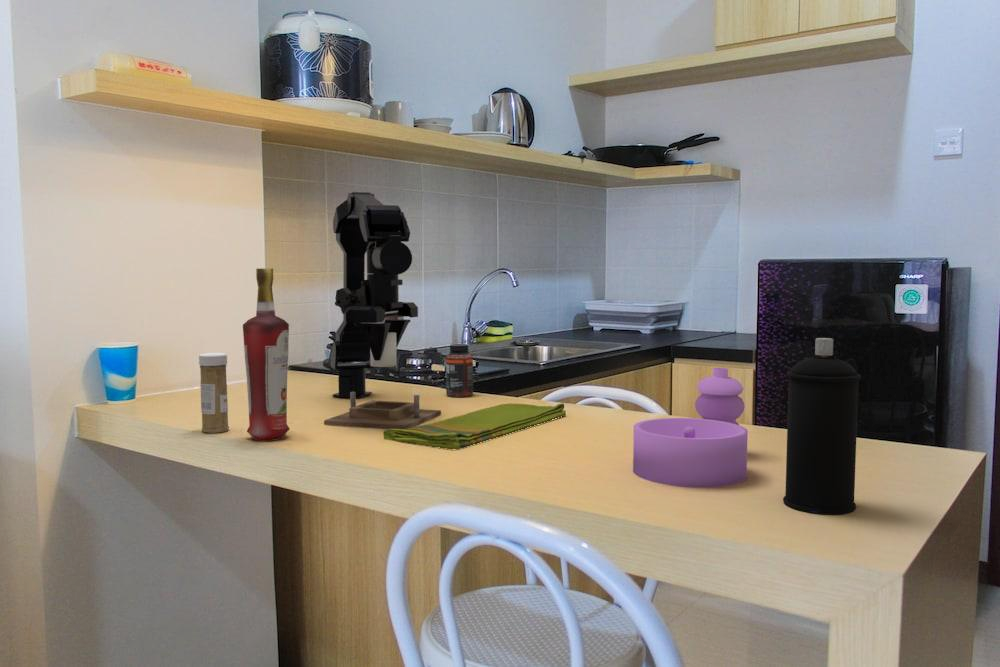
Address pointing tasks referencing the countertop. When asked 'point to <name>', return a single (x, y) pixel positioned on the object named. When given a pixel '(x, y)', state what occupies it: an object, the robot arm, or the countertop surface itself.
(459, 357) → the supplement bottle
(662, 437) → the container set
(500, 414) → the dish towel
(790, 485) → the aerosol can
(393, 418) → the holder
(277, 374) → the liquor
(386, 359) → the roll
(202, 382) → the spice jar
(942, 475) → the countertop surface
